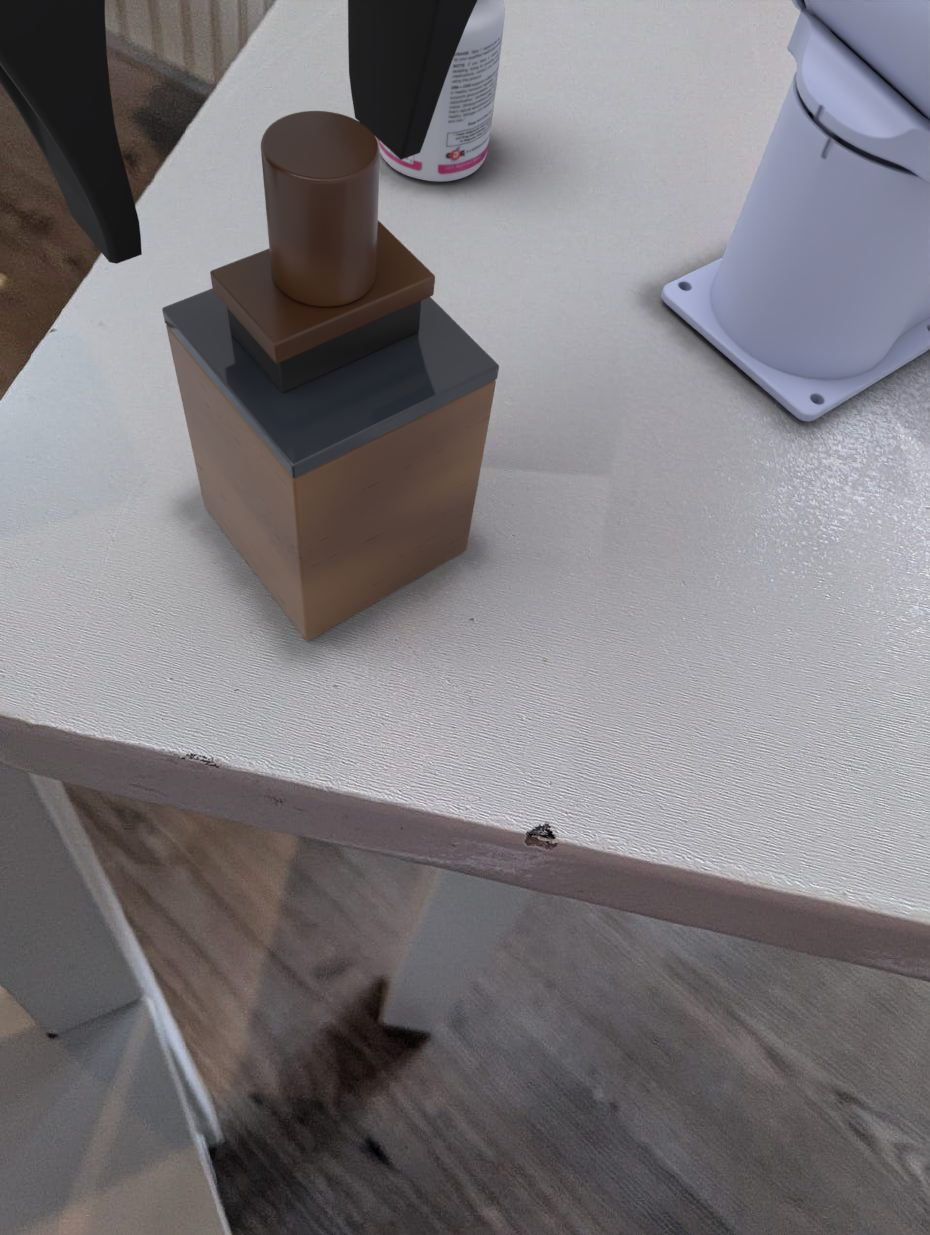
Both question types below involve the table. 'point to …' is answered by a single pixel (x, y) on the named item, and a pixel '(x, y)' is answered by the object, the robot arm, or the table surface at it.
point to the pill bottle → (461, 104)
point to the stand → (337, 501)
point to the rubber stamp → (321, 256)
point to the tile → (334, 383)
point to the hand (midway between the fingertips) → (256, 181)
